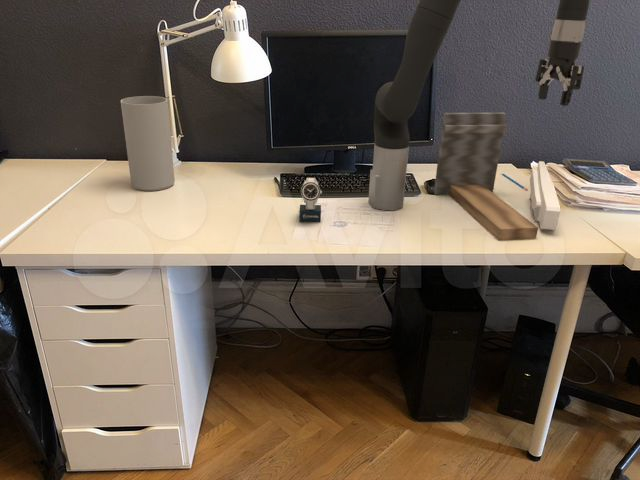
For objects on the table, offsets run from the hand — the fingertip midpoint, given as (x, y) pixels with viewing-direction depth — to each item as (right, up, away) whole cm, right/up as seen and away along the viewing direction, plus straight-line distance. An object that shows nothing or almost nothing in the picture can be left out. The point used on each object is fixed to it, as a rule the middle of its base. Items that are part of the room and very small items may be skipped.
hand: (552, 102), depth 146 cm
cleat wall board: (-17, -31, +1) cm, 35 cm away
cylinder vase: (-113, -21, +15) cm, 116 cm away
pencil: (-1, -19, +28) cm, 34 cm away
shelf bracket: (-3, -31, +2) cm, 31 cm away
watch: (-66, -32, -5) cm, 74 cm away
